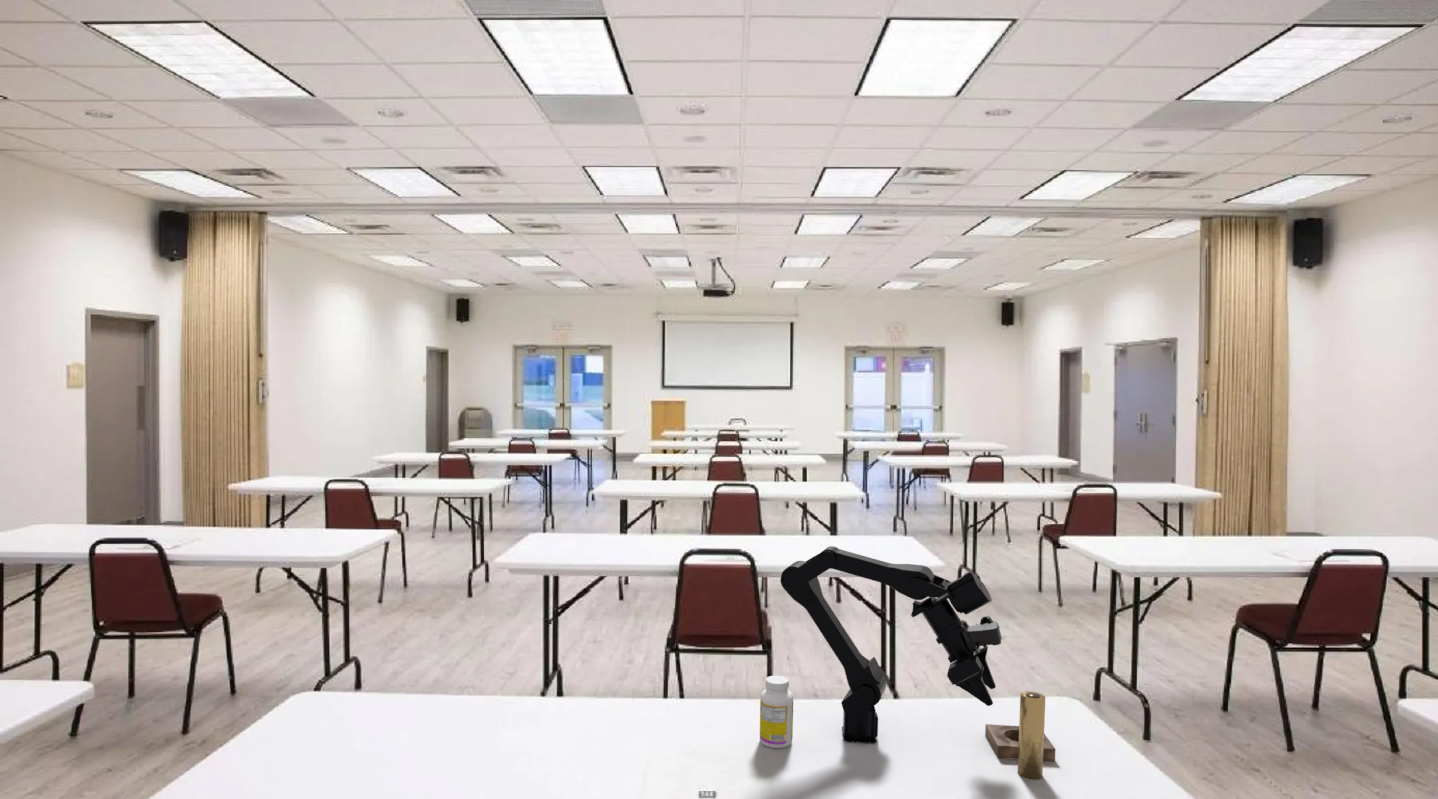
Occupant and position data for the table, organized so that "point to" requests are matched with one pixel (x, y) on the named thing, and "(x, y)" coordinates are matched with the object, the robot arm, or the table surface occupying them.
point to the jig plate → (1012, 742)
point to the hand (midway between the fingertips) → (992, 696)
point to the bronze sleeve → (1031, 735)
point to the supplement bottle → (776, 713)
